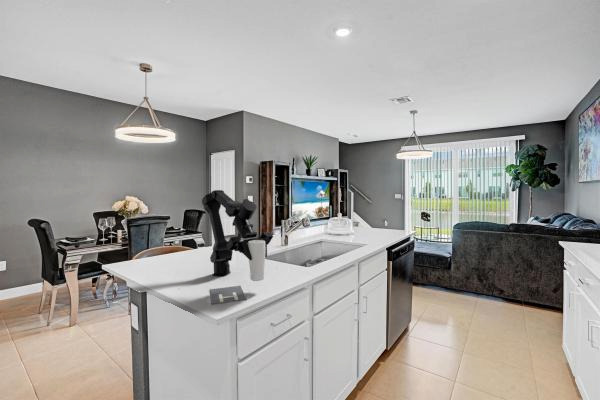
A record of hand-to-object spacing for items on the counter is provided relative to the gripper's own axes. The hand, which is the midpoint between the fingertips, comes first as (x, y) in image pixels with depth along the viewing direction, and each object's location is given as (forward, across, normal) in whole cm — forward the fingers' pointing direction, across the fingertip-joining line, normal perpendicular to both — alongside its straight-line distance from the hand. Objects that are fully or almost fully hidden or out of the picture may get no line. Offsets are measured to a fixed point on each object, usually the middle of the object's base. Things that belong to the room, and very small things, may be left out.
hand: (258, 258), depth 114 cm
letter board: (+5, +10, -14) cm, 18 cm away
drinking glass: (+5, 0, -7) cm, 9 cm away
